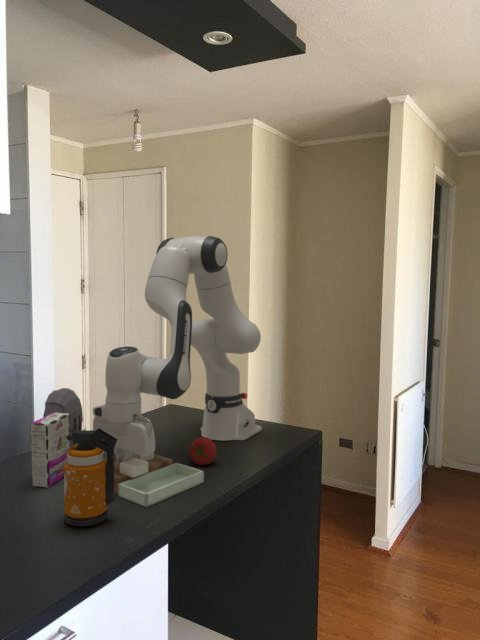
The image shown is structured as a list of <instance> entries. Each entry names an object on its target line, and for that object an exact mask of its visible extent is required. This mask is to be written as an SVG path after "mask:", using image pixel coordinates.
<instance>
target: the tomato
mask: <svg viewBox="0 0 480 640" xmlns="http://www.w3.org/2000/svg"><path fill="white" fill-rule="evenodd" d="M188 452H189V453H188V454H189V458H190V459H191V460H192V462H193V463H195V464H196V465H199V466H206V465H210V464H211V463H212V462H213V461H214V459H215V458H216V456H217V452H218V450H217V445H216V443H215V442H214V441H213V440H212V439H209V438H206V437H203V436H199V437H197V438H195V439H193V441H192V443H190V445H189V449H188Z"/></svg>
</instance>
